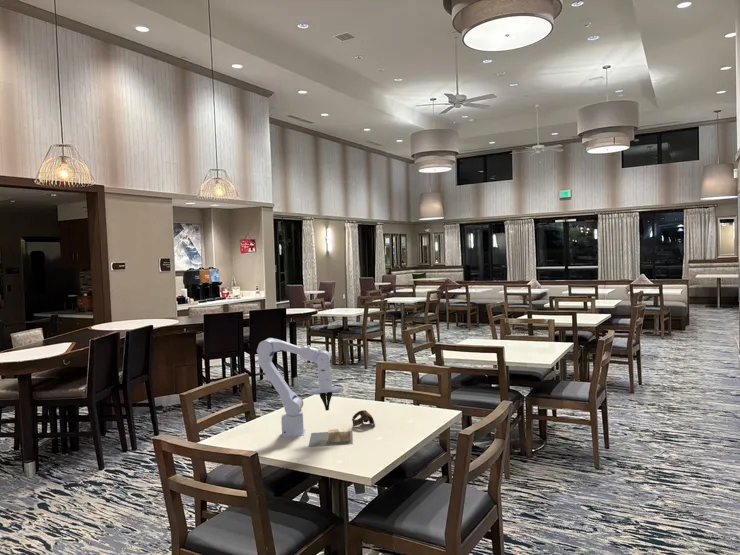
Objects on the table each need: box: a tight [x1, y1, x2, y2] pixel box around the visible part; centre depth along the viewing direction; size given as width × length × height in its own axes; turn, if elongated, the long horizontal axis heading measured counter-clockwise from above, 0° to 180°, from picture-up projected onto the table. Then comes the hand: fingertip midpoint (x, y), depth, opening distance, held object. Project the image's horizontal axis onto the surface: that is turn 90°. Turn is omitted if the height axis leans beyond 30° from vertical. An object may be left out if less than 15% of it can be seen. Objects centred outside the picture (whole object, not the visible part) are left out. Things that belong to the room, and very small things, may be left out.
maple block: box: [327, 427, 351, 442], centre depth 223 cm, size 4×4×9 cm
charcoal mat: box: [307, 429, 354, 448], centre depth 226 cm, size 18×18×1 cm
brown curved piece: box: [351, 409, 376, 428], centre depth 243 cm, size 12×9×8 cm
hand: (327, 409), depth 234 cm, fingers closed
